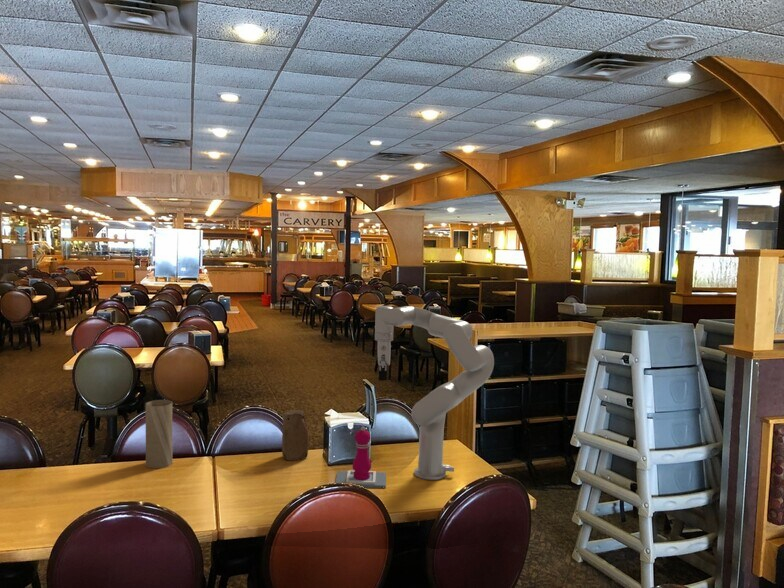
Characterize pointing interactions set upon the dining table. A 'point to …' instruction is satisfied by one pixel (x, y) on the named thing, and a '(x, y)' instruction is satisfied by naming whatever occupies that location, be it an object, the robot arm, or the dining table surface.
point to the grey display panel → (373, 482)
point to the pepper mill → (362, 455)
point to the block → (294, 435)
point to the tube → (158, 434)
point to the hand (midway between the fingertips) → (382, 377)
